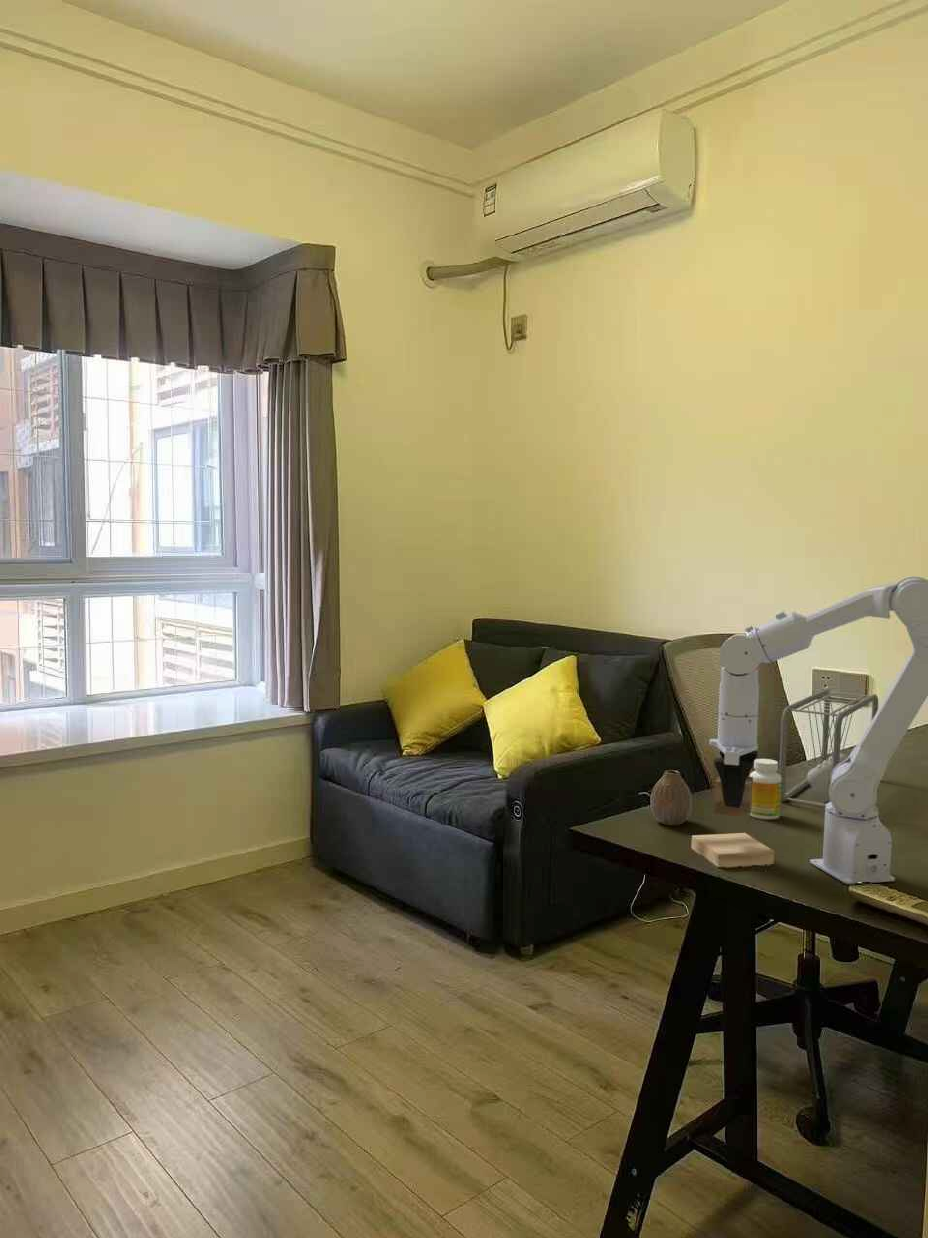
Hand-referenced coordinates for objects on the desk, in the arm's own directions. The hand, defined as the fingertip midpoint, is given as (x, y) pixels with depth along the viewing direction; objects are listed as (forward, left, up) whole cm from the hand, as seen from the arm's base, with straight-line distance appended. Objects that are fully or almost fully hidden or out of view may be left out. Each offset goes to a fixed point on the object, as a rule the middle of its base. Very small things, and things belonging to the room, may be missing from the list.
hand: (734, 801), depth 150 cm
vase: (+18, +2, -9) cm, 20 cm away
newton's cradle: (+32, -37, -9) cm, 50 cm away
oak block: (0, 0, -9) cm, 9 cm away
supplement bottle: (+19, -16, -9) cm, 26 cm away
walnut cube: (0, 0, -2) cm, 2 cm away
